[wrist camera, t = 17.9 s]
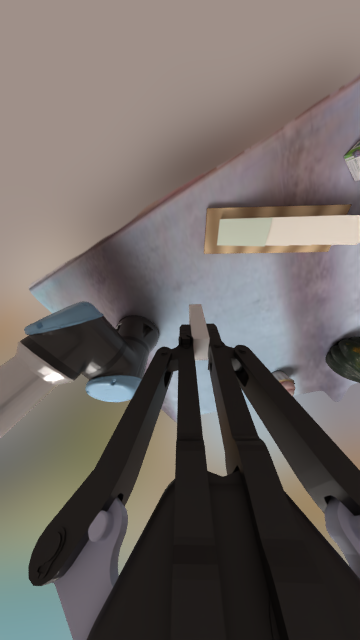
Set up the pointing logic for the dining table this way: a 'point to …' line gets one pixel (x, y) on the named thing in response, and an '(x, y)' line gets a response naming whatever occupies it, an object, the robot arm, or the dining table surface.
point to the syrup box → (354, 161)
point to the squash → (346, 359)
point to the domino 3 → (306, 230)
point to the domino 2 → (281, 231)
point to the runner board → (265, 212)
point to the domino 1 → (243, 231)
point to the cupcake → (285, 381)
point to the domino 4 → (330, 229)
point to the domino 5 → (350, 231)
